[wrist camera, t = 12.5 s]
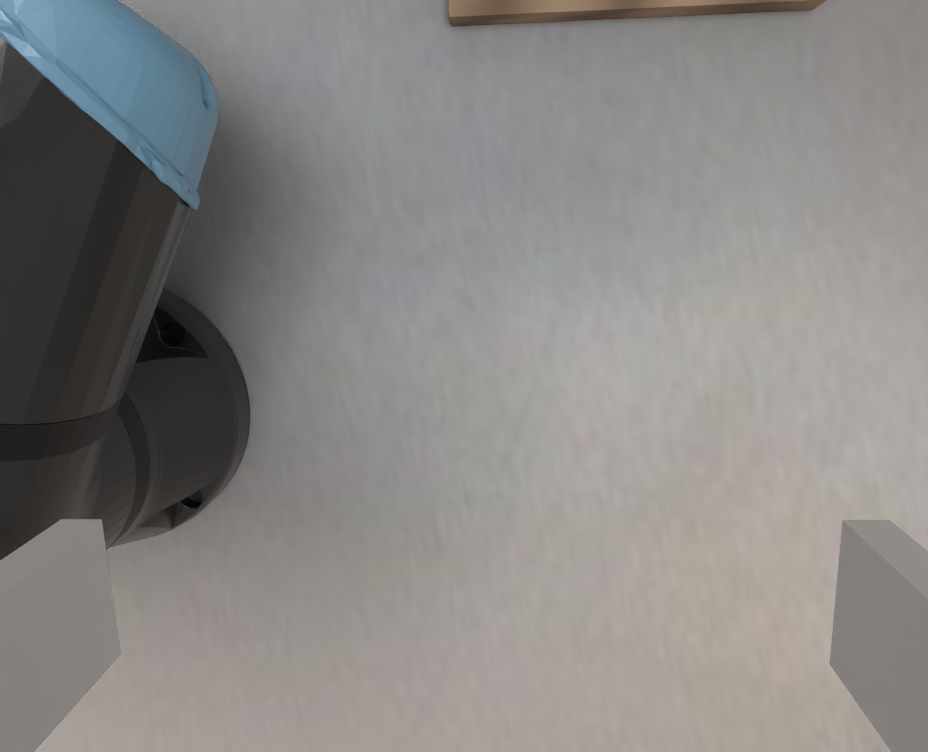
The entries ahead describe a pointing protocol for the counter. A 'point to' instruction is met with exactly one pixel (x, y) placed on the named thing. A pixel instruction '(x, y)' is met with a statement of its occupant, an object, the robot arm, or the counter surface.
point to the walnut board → (605, 9)
